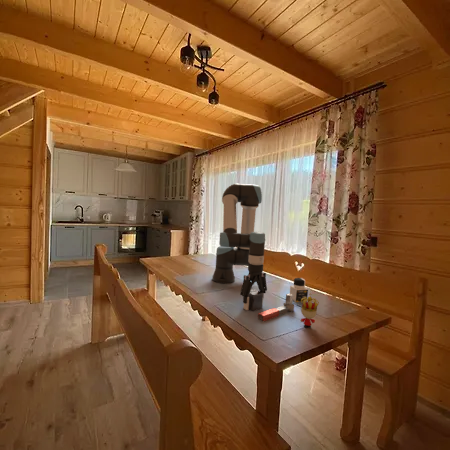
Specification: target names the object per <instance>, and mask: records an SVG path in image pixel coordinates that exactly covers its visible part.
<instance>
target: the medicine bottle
mask: <svg viewBox="0 0 450 450" xmlns="http://www.w3.org/2000/svg"><path fill="white" fill-rule="evenodd" d="M305 286H306V280H305V278H303V277H296V278H294V279H293V285H290V286H289V294H292V295H293V301H294V302H295V303H301V299H302V298H303V297H307V298H308V297H309V296H308V295H309V289H308V288H307V287H305ZM305 299H306V298H305ZM306 302H308V301H306ZM302 303H303V300H302Z"/></svg>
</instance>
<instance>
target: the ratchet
mask: <svg viewBox="0 0 450 450" xmlns="http://www.w3.org/2000/svg"><path fill="white" fill-rule="evenodd" d="M282 304H283V305H281V306H279V307H278V306H277V307H276V308H274V307H273V308H270V309H266V310H264V311H261V312H258V314H257V320H259V321H260V322H263V321H264V322H266V321H269V320H272V319H274V318H277V317H279V316H282V315H284V314H287V313H293V312H295V304H294V302H293V295H292V294H290V293H287V294H285V302H284V303H282Z"/></svg>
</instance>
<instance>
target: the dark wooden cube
mask: <svg viewBox="0 0 450 450" xmlns="http://www.w3.org/2000/svg"><path fill="white" fill-rule="evenodd" d="M248 297H249V308H248V310H250V311H252V312H255V311H258V310H260V309H263V306H262V301H264V298H263V293H262V292H260V291H259V290H257V289H255V288H254V289H252V288H251V290H250V293H249V295H248Z"/></svg>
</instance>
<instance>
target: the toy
mask: <svg viewBox="0 0 450 450" xmlns="http://www.w3.org/2000/svg"><path fill="white" fill-rule="evenodd" d="M308 295H309V296H308V297H303V298H302V299H301V302H300V303H301V314H302V316H303V317H304V318H303V317H302V318H301V319H299V320H300V323H303V327H304V328H306V329H311V328H312V324H314V323H316V320H315V319H314V318H315V317H317V316H316V315H317V311H318V305H319V304H320V303H319V300H317V299H316V298H315V297H312V293H311V292H310V293H308ZM305 298H306V299H305ZM302 300H303V302H302ZM306 301H307V302H306Z"/></svg>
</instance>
